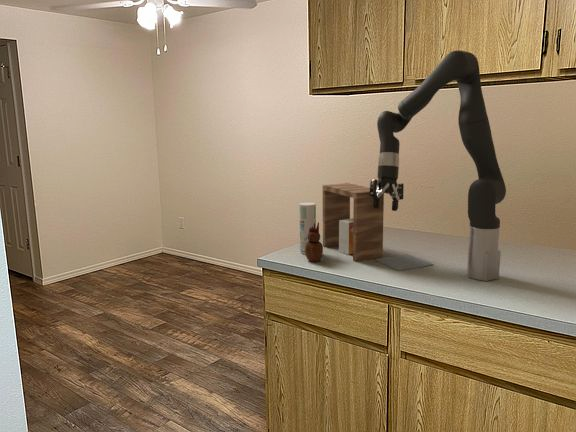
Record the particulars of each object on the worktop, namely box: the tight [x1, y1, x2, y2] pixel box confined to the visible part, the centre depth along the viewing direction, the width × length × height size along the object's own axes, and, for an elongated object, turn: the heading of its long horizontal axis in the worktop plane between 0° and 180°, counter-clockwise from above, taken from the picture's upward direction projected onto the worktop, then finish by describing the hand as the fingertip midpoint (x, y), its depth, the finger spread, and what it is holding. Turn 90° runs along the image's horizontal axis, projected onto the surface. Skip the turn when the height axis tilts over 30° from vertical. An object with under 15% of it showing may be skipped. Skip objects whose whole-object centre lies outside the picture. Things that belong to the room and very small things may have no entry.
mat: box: [374, 253, 434, 272], centre depth 182 cm, size 15×15×1 cm
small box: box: [338, 217, 353, 256], centre depth 197 cm, size 8×6×13 cm
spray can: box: [298, 201, 317, 256], centre depth 196 cm, size 6×6×20 cm
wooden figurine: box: [304, 221, 324, 263], centre depth 186 cm, size 7×6×15 cm
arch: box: [322, 182, 385, 263], centre depth 196 cm, size 26×12×26 cm, turn 24°
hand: (385, 209), depth 181 cm, fingers open, 8 cm apart
